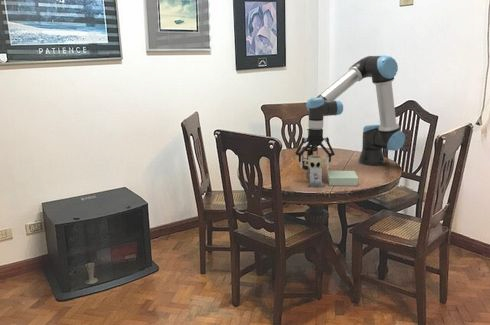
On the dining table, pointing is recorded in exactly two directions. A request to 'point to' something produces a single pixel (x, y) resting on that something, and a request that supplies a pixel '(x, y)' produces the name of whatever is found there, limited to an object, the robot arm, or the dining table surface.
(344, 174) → the stand
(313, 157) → the character mug
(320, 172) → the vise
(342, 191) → the dining table surface
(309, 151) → the french press
